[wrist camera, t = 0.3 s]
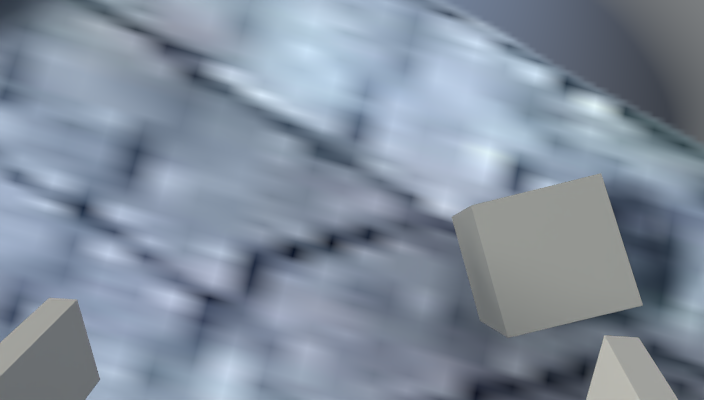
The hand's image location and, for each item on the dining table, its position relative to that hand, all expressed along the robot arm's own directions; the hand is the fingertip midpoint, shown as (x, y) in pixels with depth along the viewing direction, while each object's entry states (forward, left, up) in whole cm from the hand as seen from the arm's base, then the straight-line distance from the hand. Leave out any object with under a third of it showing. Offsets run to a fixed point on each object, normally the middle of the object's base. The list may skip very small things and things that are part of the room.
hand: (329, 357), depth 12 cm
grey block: (+3, -9, -15) cm, 18 cm away
